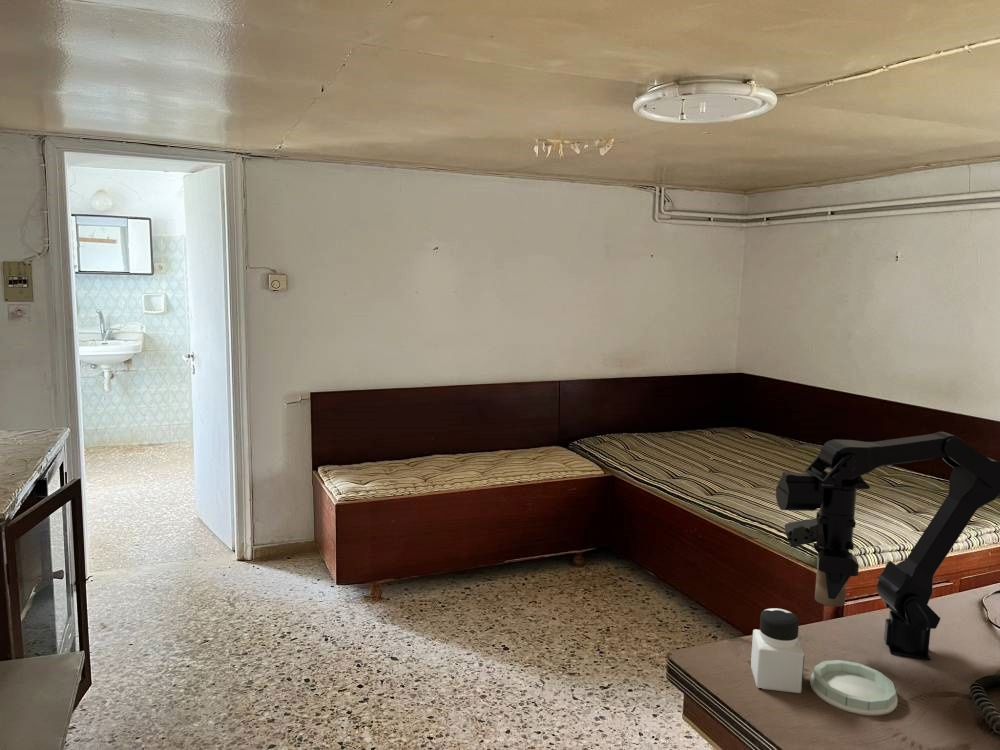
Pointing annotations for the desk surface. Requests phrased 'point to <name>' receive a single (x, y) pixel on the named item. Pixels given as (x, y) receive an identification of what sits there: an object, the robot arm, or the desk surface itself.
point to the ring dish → (854, 687)
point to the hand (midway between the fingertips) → (830, 592)
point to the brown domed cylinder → (822, 593)
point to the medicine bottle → (777, 652)
